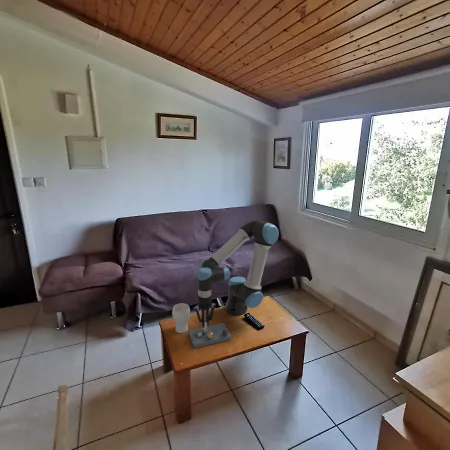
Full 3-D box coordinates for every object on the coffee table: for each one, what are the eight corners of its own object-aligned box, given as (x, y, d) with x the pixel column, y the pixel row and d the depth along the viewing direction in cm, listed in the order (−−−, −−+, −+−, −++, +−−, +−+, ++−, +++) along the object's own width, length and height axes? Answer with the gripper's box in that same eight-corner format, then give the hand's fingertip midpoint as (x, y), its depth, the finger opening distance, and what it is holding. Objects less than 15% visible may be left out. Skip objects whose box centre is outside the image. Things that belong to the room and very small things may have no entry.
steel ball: (201, 336, 165) (202, 331, 164) (203, 339, 161) (204, 334, 161) (196, 336, 163) (197, 331, 163) (197, 339, 160) (198, 334, 160)
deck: (223, 326, 173) (223, 323, 172) (231, 339, 161) (231, 336, 161) (188, 334, 166) (188, 330, 165) (194, 348, 154) (193, 344, 153)
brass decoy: (212, 335, 161) (212, 329, 160) (214, 339, 158) (214, 333, 156) (205, 336, 160) (205, 330, 159) (207, 341, 156) (207, 335, 155)
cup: (187, 335, 164) (186, 313, 160) (170, 333, 166) (169, 311, 162) (192, 325, 174) (192, 303, 170) (176, 322, 176) (175, 301, 172)
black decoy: (226, 332, 164) (226, 327, 163) (228, 336, 160) (228, 331, 160) (221, 333, 162) (221, 328, 162) (223, 337, 159) (223, 332, 158)
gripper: (213, 290, 162) (213, 325, 168) (192, 293, 158) (192, 329, 164) (217, 296, 155) (217, 332, 161) (195, 300, 151) (196, 337, 157)
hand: (205, 331), depth 163 cm, fingers closed
